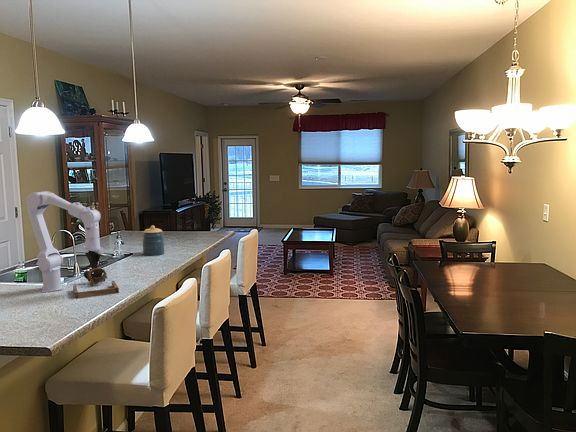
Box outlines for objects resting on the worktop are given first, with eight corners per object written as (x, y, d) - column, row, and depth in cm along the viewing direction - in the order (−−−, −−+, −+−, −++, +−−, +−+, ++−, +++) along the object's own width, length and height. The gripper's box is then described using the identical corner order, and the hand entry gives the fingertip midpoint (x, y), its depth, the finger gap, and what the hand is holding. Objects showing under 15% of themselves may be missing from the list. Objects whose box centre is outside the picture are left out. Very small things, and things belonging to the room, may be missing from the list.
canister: (159, 256, 290) (158, 227, 288) (139, 255, 292) (137, 226, 290) (168, 252, 303) (166, 224, 301) (148, 251, 305) (147, 223, 303)
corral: (73, 290, 217) (73, 285, 216) (114, 285, 224) (114, 280, 224) (75, 298, 204) (75, 293, 204) (118, 292, 212) (118, 287, 212)
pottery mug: (112, 281, 234) (111, 269, 229) (101, 295, 226) (100, 282, 221) (88, 274, 235) (87, 262, 230) (77, 288, 227) (76, 275, 222)
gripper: (75, 237, 214) (77, 267, 215) (91, 240, 204) (93, 272, 206) (90, 235, 219) (92, 264, 221) (107, 238, 209) (109, 269, 211)
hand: (94, 268), depth 214 cm, fingers closed
